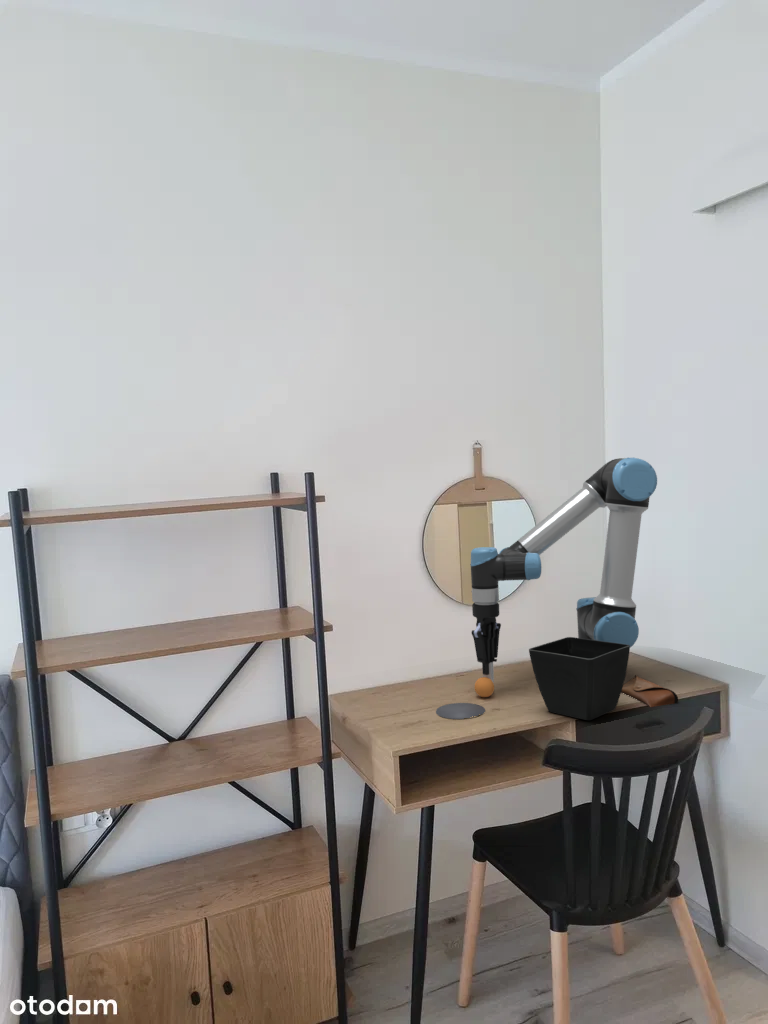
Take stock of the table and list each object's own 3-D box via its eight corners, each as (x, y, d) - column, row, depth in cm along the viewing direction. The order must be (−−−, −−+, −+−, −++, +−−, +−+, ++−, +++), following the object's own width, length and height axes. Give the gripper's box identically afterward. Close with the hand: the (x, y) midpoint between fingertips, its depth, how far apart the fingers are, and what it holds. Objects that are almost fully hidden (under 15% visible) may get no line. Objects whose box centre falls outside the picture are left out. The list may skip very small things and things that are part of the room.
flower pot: (571, 695, 210) (568, 634, 209) (634, 708, 196) (631, 643, 195) (529, 713, 197) (526, 648, 196) (594, 728, 183) (591, 659, 182)
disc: (451, 701, 211) (451, 700, 211) (493, 707, 203) (493, 706, 203) (426, 714, 200) (426, 714, 200) (469, 722, 192) (469, 721, 192)
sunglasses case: (611, 689, 212) (621, 667, 213) (630, 699, 214) (640, 677, 215) (651, 708, 195) (662, 684, 196) (672, 718, 197) (682, 694, 198)
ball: (482, 679, 217) (473, 673, 213) (499, 681, 214) (490, 675, 210) (478, 698, 215) (469, 693, 211) (495, 700, 212) (486, 695, 208)
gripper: (485, 597, 222) (488, 677, 223) (462, 605, 211) (465, 688, 213) (508, 599, 217) (511, 680, 219) (485, 607, 207) (488, 692, 208)
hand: (488, 684), depth 216 cm, fingers closed
